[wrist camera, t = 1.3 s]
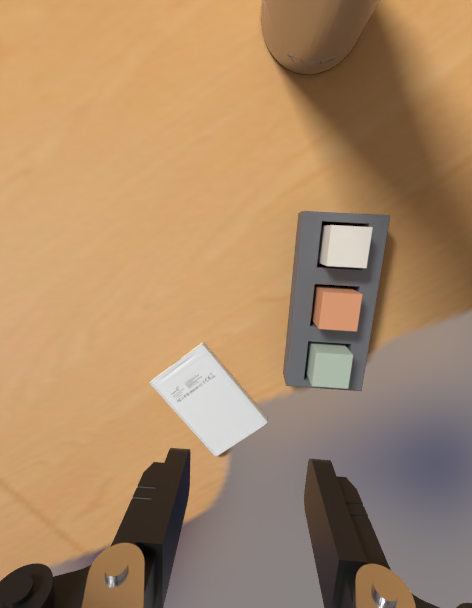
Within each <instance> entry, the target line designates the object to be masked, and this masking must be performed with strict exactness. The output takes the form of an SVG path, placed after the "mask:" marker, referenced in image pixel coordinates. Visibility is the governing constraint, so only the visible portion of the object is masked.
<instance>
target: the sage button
mask: <svg viewBox="0 0 472 608" xmlns="http://www.w3.org/2000/svg"><path fill="white" fill-rule="evenodd" d="M352 360H353V354H352V353H351V352H350V351H349V349H348V348H347V347H346V346H345V345H344V344H343V343H328V342H312V341H309V346H308V354H307V363H306V373H307V376H308V378H309V381H310V383H311V386H315V387H329V388H344V389H348V387H349V380H350V373H351V367H352Z"/></svg>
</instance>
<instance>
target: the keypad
mask: <svg viewBox="0 0 472 608" xmlns="http://www.w3.org/2000/svg"><path fill="white" fill-rule="evenodd" d="M389 219H390V216H389V215H370V214H350V213H331V212H311V211H303V212H300V213H298V224H297V234H296V245H295V255H294V265H293V276H292V286H291V297H290V307H289V318H288V328H287V338H286V349H285V359H284V370H283V375H284V379H285V383H286V386H296V387H310V388H325V389H340V390H354V391H355V390H356V391H361V390H362V384H363V378H364V371H365V366H366V360H367V354H368V348H369V342H370V336H371V329H372V323H373V317H374V311H375V305H376V299H377V293H378V287H379V281H380V274H381V268H382V262H383V256H384V250H385V244H386V238H387V232H388V226H389ZM322 222H323V223H342V224H358V226H360V227H373V229H372V235H371V242H370V248H369V255H368V262H367V268H353V267H335V266H325V265H317V260H318V251H319V242H320V234H321V225H322ZM315 284H325V285H342V286H349V288H352V289H354V290H356V291H357V292H359V293H361V294H362V301H361V308H360V314H359V321H358V327H357V331H342V330H326V329H318V327H317V326H316V325H315V323H314V322H313V320H312V319H311V313H312V304H313V295H314V286H315ZM308 341H312V342H328V343H343V344H344V345H345V346H346V347H347V348H348V349H349V351H350V352H351V353H352V354H353V360H352V367H351V373H350V380H349V387H348V389H344V388H329V387H315V386H311V383H310V381H309V378H308V376H307V373H306V368H305V365H306V357H307V348H308Z"/></svg>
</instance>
